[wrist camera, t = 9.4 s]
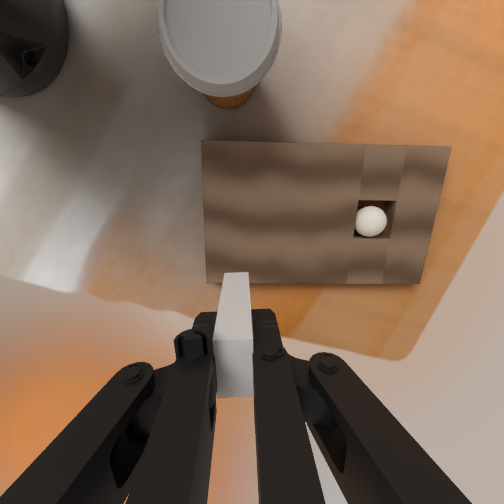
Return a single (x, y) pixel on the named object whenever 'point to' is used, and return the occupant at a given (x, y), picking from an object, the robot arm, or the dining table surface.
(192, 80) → the disposable coffee cup
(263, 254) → the hole board
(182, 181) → the dining table surface
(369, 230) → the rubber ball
